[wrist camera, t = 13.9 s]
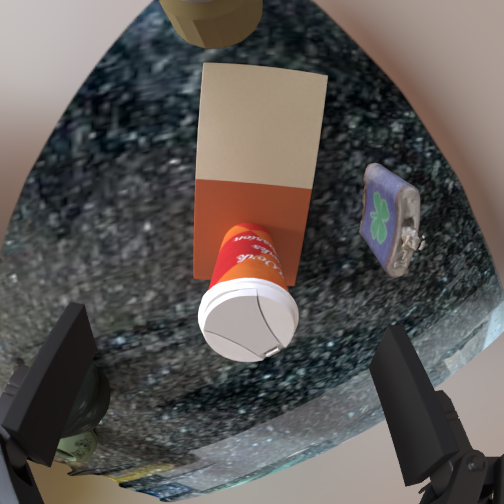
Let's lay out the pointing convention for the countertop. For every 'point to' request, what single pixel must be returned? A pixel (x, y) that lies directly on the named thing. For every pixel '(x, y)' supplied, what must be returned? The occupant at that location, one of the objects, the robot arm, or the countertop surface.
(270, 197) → the board
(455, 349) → the countertop surface
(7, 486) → the robot arm
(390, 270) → the flask
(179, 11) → the squeeze bottle
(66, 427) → the squash
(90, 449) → the mug
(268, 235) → the paper cup
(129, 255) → the countertop surface
